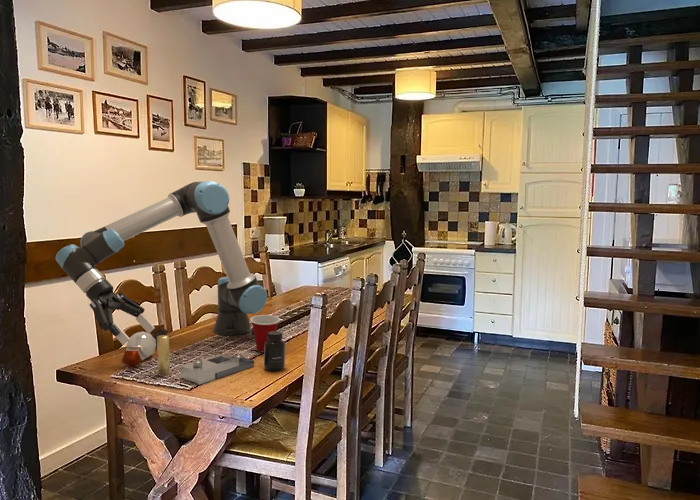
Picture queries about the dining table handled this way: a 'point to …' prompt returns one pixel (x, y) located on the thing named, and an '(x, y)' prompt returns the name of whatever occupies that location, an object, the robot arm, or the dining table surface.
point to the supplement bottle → (274, 352)
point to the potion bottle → (139, 348)
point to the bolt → (158, 333)
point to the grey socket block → (207, 368)
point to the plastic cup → (263, 328)
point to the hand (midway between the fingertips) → (139, 336)
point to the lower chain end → (243, 365)
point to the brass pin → (163, 354)
